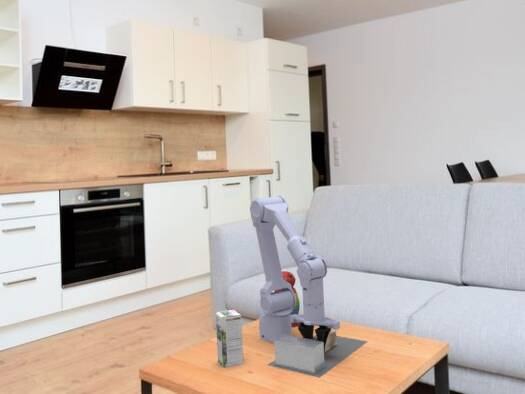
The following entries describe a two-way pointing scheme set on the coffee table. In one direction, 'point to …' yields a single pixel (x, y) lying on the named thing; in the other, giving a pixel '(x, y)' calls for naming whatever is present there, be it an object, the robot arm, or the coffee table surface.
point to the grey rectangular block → (299, 353)
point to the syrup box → (229, 338)
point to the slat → (329, 340)
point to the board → (333, 355)
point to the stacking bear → (291, 279)
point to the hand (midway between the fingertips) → (315, 351)
